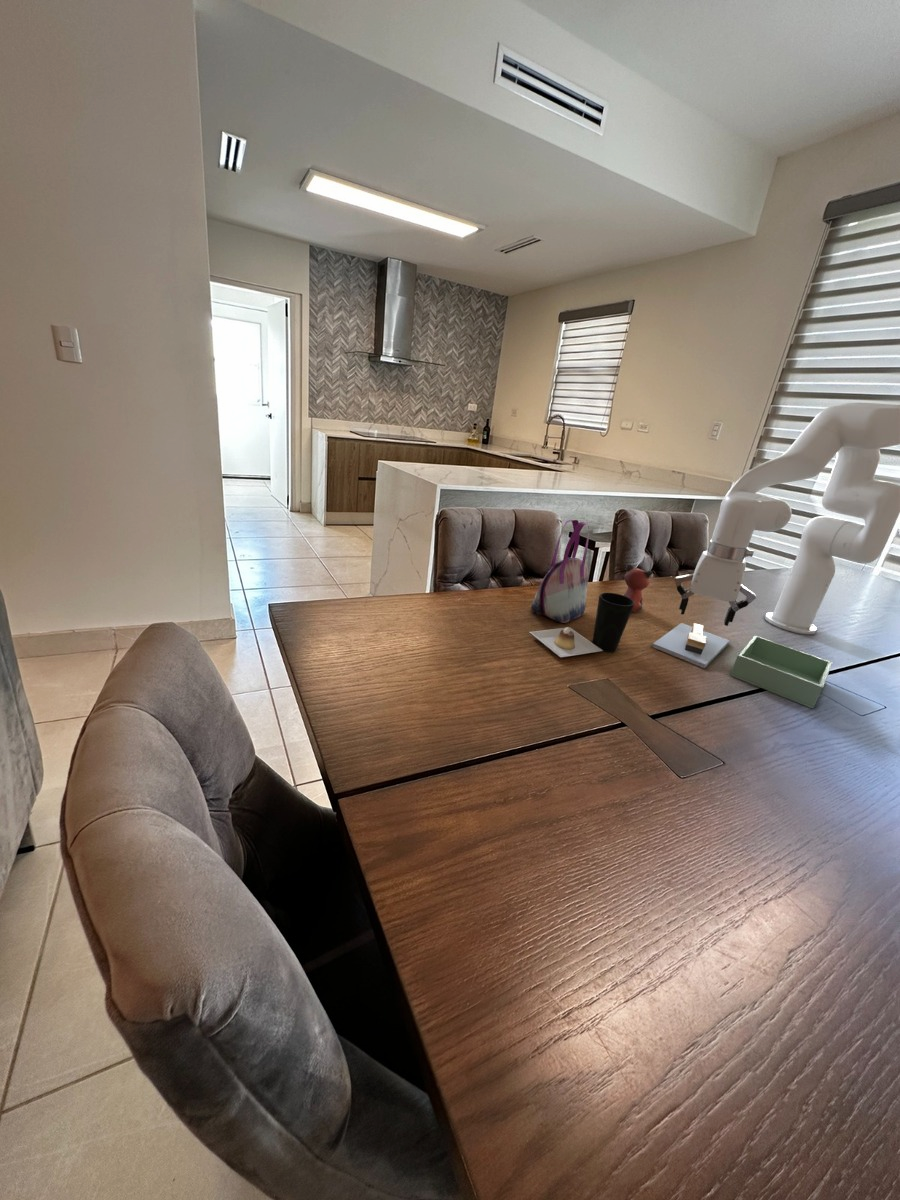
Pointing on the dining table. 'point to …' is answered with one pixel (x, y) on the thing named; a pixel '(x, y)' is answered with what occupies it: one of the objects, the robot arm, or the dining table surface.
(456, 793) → the dining table surface
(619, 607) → the cup
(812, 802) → the dining table surface
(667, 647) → the mat
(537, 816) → the dining table surface
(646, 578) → the stuffed fox
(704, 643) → the brush
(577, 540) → the handbag
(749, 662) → the basket
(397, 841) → the dining table surface
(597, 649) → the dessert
